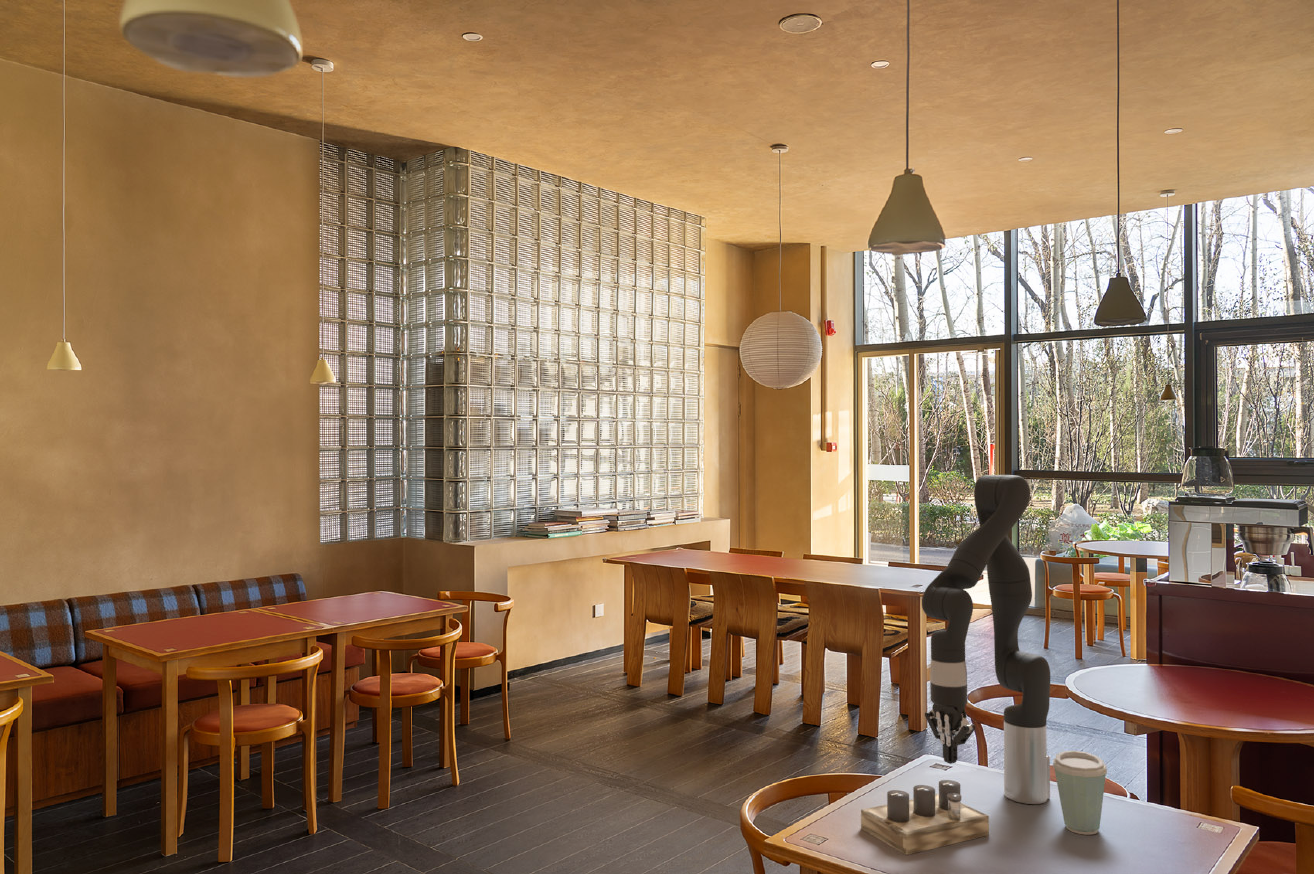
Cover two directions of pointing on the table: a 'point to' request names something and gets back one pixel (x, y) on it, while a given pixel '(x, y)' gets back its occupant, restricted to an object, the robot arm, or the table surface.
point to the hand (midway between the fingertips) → (950, 761)
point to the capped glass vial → (954, 806)
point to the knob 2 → (946, 788)
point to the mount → (924, 828)
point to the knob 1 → (898, 806)
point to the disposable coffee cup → (1080, 790)
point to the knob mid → (924, 800)
